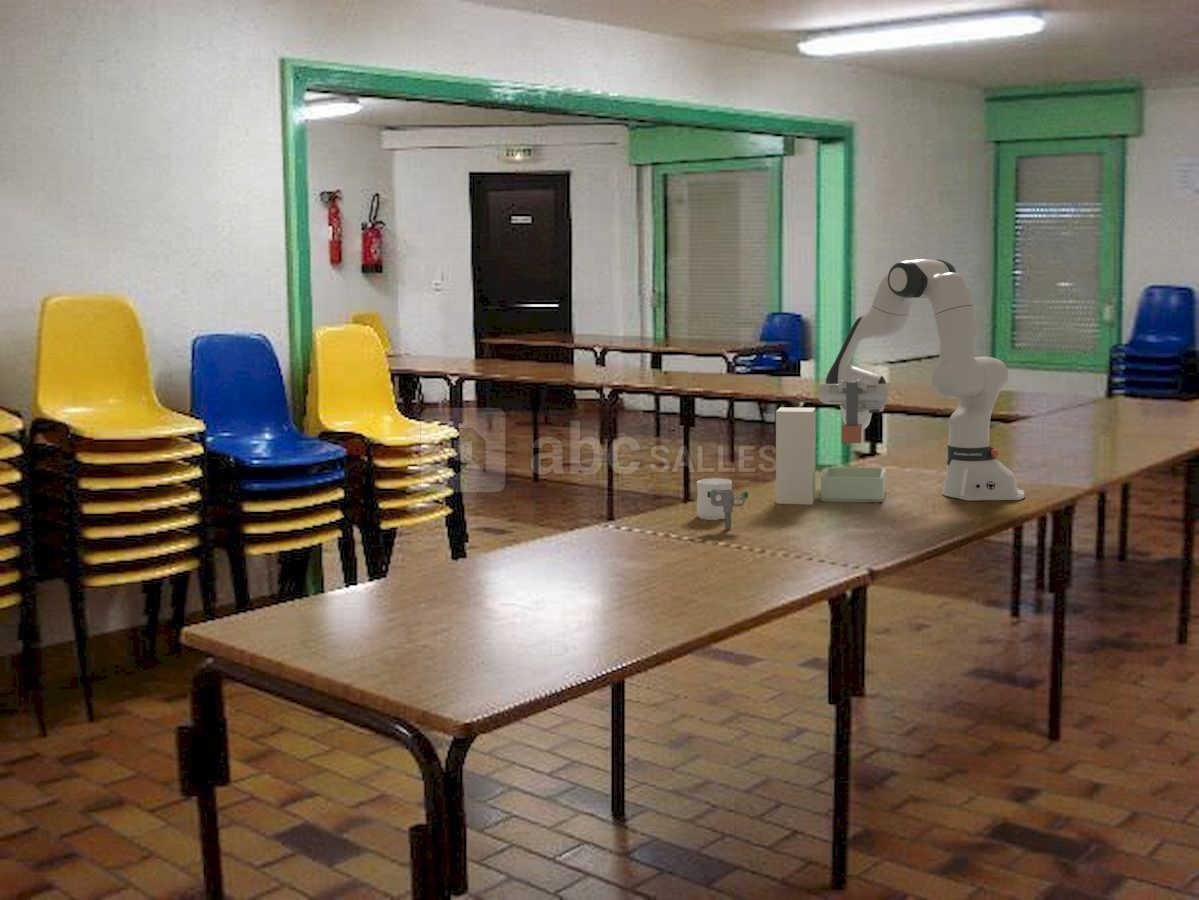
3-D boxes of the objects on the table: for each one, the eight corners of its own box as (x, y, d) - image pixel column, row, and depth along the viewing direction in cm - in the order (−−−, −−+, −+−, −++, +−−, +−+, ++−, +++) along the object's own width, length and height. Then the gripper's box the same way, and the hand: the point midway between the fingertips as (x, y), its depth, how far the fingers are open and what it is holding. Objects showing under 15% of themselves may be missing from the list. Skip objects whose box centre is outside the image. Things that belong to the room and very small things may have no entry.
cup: (731, 512, 359) (731, 477, 357) (733, 520, 349) (732, 484, 348) (696, 513, 360) (696, 477, 358) (697, 520, 350) (696, 484, 348)
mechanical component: (747, 530, 336) (747, 492, 334) (707, 529, 338) (706, 491, 336) (748, 528, 339) (748, 489, 337) (708, 527, 341) (708, 489, 339)
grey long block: (862, 381, 384) (861, 382, 380) (862, 440, 387) (861, 443, 382) (842, 381, 386) (841, 383, 381) (842, 440, 388) (841, 443, 383)
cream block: (815, 498, 376) (815, 407, 372) (812, 504, 367) (812, 411, 363) (780, 497, 378) (779, 407, 374) (776, 503, 370) (775, 411, 366)
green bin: (885, 491, 383) (885, 468, 382) (882, 503, 367) (882, 478, 366) (826, 490, 387) (826, 466, 386) (820, 501, 371) (821, 477, 370)
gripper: (819, 391, 398) (816, 372, 385) (889, 391, 392) (887, 372, 380) (819, 411, 395) (815, 392, 383) (888, 411, 390) (887, 392, 378)
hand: (851, 382), depth 381 cm, fingers closed on grey long block, 3 cm apart
